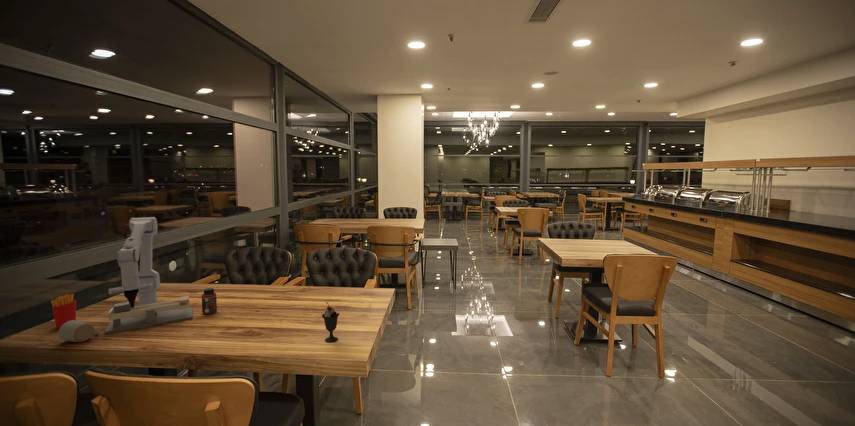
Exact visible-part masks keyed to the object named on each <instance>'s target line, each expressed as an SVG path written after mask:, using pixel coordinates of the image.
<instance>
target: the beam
mask: <svg viewBox="0 0 855 426" xmlns="http://www.w3.org/2000/svg"><path fill="white" fill-rule="evenodd" d="M186 308H190V295H184V296H179V299H173V300H168V301H161V302H157V303H154V304H147V305H141V306H139V305H136V306H135V305H134V308H131V311H128V312H122V313H115V314H114V307H110V310H109V312H108V321H111V320H115V319H124V318H130V317H136V316H142V315H146V310H150V309H155V313H161V312H168V311H174V310H180V309H186Z"/></svg>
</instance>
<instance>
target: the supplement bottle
mask: <svg viewBox="0 0 855 426" xmlns="http://www.w3.org/2000/svg"><path fill="white" fill-rule="evenodd" d="M217 302H218V301H217V293H216V292H215V289H214V287H207V288H204V289H203V294H201V312H202V314H203V315H212V314H215V313H216V312H217V311H218V308H217V307H218V305H217V304H218V303H217Z"/></svg>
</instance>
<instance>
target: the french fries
mask: <svg viewBox="0 0 855 426" xmlns="http://www.w3.org/2000/svg"><path fill="white" fill-rule="evenodd" d="M74 295H75V293H72V294H71V293H70V294H68V293H66V294H65V295H63V296H62V295H61V296H59V297H56V298H55V299H52V300H51V301H50V303H51V305H52V306H51V307H52V308H51V309H52V312H53V317H54V322H55V327H56V329H60V328H61V326H62V325H63V324H64V323H66V322H68V321H72V320H75V321H77V300H76V299H74Z"/></svg>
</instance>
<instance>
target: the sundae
mask: <svg viewBox="0 0 855 426" xmlns="http://www.w3.org/2000/svg"><path fill="white" fill-rule="evenodd" d="M325 303H326V304H327V307H326V310H325V311H324V313H322V314H321V317H322V319H323V321H324V326H325V329H326V330H327V331H328V332H329V337H326V338H325V339H324V342H326V343H335V342H337V341H339V338H338V337H337V336H334V334H333V332H334V331H335V330H336V329H337V326H338V317H339V316H340V313H339V312H337V311H336V310H335V309H334V308H333V307H331V306H330V305H329V303H328V302H327V301H325Z"/></svg>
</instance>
